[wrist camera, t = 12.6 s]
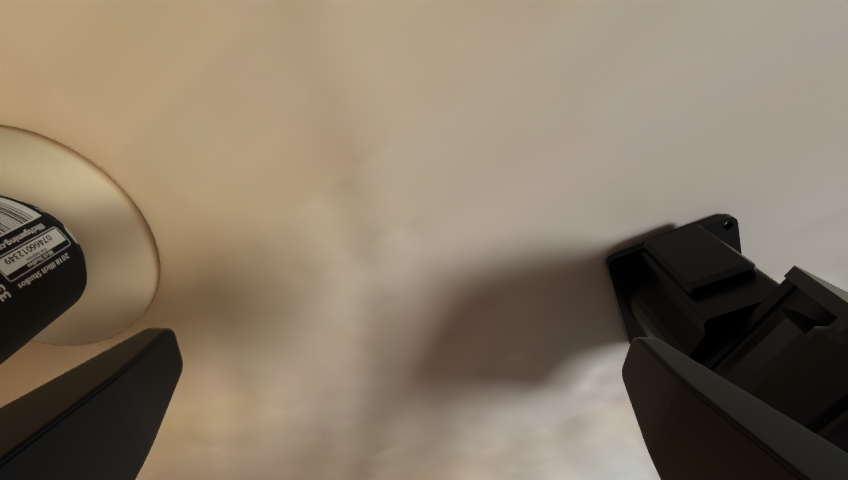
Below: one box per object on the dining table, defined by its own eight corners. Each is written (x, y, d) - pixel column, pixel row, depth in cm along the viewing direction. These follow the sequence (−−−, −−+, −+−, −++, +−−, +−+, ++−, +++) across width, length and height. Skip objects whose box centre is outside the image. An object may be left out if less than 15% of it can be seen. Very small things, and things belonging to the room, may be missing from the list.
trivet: (207, 291, 23) (200, 300, 22) (40, 362, 25) (29, 371, 24) (32, 77, 18) (17, 79, 17) (-159, 187, 20) (-180, 193, 19)
